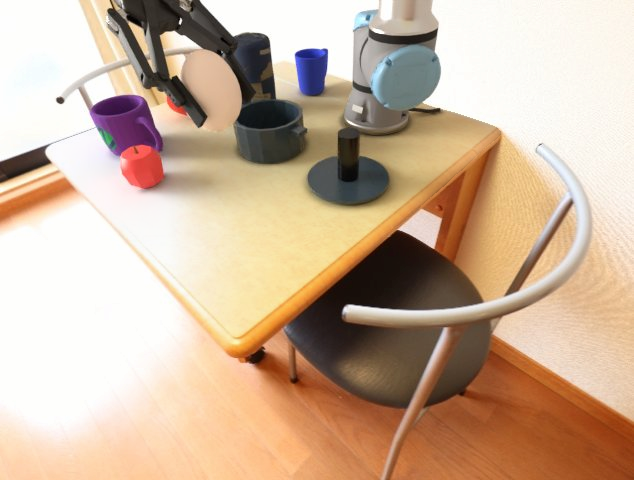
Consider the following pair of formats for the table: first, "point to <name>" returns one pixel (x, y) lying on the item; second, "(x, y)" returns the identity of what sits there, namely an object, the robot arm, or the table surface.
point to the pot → (270, 131)
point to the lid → (348, 173)
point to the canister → (256, 64)
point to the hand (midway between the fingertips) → (228, 109)
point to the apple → (142, 166)
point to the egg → (212, 88)
